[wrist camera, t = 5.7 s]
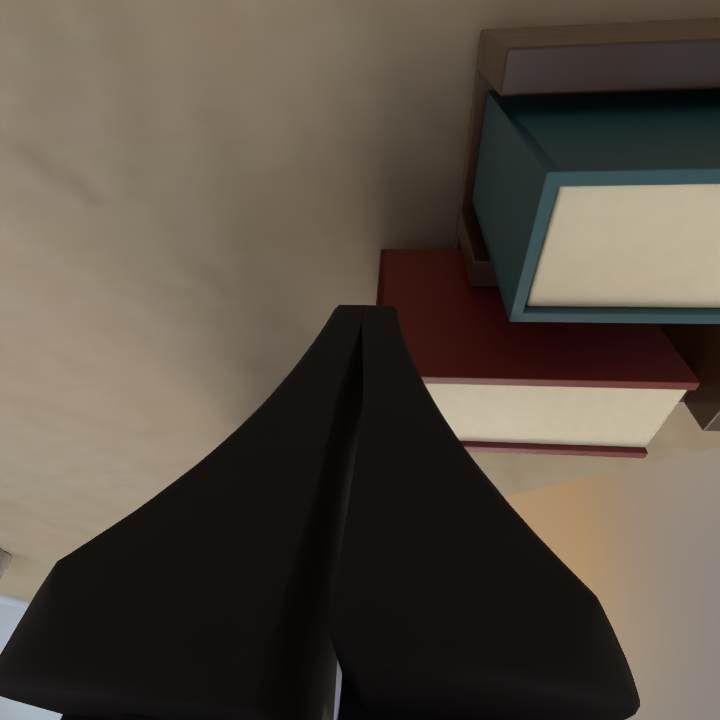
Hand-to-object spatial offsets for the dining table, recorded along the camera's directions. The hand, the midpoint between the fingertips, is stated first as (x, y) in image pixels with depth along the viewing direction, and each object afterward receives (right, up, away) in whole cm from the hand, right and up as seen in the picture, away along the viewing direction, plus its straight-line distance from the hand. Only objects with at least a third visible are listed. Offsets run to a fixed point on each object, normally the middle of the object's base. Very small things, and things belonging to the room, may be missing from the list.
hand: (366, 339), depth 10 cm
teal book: (+9, +7, +4) cm, 12 cm away
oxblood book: (+5, +3, +9) cm, 10 cm away
